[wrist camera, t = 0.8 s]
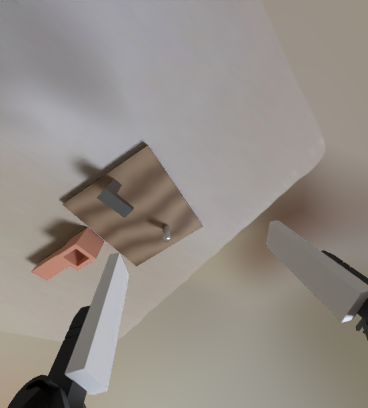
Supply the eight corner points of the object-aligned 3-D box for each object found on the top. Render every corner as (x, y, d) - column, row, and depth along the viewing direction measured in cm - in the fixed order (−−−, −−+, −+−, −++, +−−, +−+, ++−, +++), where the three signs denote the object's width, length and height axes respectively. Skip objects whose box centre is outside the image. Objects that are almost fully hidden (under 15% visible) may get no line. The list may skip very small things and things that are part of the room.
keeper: (108, 184, 33) (96, 197, 26) (115, 176, 32) (105, 188, 26) (130, 201, 35) (124, 218, 29) (137, 195, 35) (133, 210, 28)
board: (65, 202, 33) (62, 204, 32) (147, 145, 31) (147, 145, 29) (137, 263, 43) (136, 266, 42) (201, 223, 41) (202, 226, 40)
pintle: (160, 223, 39) (161, 238, 34) (166, 220, 39) (167, 234, 33) (164, 228, 40) (165, 243, 34) (170, 224, 40) (172, 239, 34)
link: (56, 271, 40) (41, 293, 35) (37, 260, 38) (17, 281, 32) (104, 241, 38) (96, 258, 33) (87, 227, 36) (75, 243, 31)
